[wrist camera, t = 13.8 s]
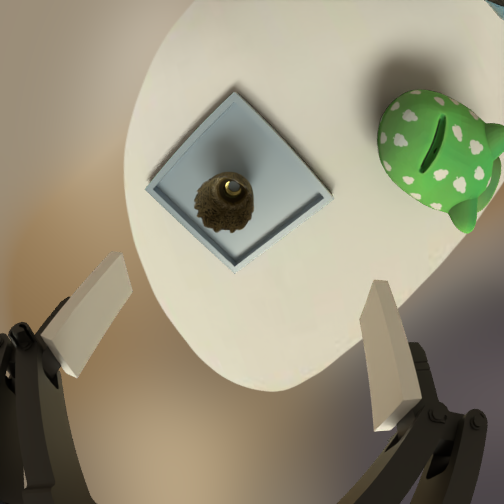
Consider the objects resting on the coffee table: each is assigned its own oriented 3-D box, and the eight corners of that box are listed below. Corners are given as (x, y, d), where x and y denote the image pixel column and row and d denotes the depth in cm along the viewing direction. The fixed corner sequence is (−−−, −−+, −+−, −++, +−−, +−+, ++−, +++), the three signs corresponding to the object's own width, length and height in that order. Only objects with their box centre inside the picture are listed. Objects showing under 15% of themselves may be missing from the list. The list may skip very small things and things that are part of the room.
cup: (260, 162, 38) (254, 179, 31) (258, 210, 42) (252, 236, 35) (208, 161, 39) (191, 176, 32) (210, 207, 42) (195, 231, 36)
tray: (237, 92, 34) (234, 91, 32) (332, 194, 39) (334, 199, 38) (150, 185, 42) (144, 189, 41) (236, 267, 48) (234, 273, 46)
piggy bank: (443, 206, 37) (491, 254, 24) (350, 160, 36) (381, 194, 24) (475, 132, 30) (536, 155, 17) (383, 73, 29) (432, 62, 16)
